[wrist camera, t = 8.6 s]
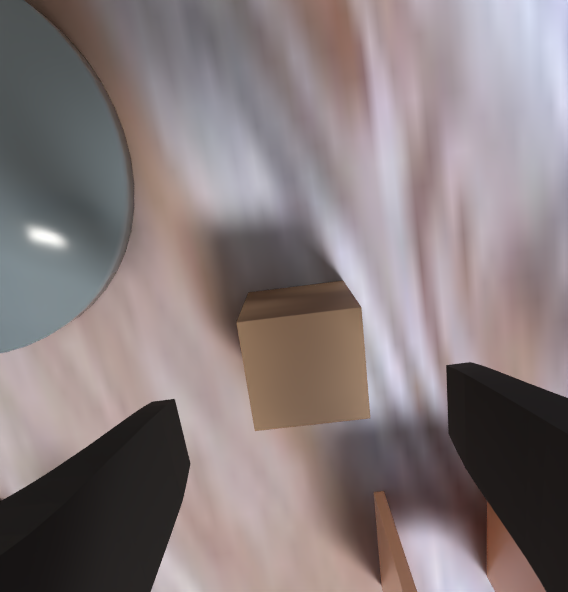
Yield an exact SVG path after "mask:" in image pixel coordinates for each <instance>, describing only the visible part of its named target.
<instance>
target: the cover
mask: <svg viewBox="0 0 568 592" xmlns="http://www.w3.org/2000/svg"><path fill="white" fill-rule="evenodd" d="M374 503H375V515H376V527H377V539H378V550H379V562H380V574H381V585H382V590H383V592H417V590H416V587H415V584H414V581H413V578H412V575H411V572H410V569H409V566H408V563H407V560H406V557H405V554H404V551H403V548H402V545H401V542H400V539H399V536H398V533H397V529H396V526H395V523H394V520H393V517H392V514H391V511H390V508H389V505H388V502H387V499H386V496H385V493H384V491H380V492H374ZM487 577H488V579H489V581H490V583H491V585H492V587H493V589H494V591H495V592H546V591H545V589H544V587H543V585H542V584H541V582H540V580H539V578H538V577H537V575H536V574H535V572H534V570H533V569H532V567H531V566H530V564H529V562H528V561H527V559H526V558H525V556H524V555H523V553H522V552H521V550H520V549H519V547H518V546H517V544H516V543H515V541H514V540H513V538H512V537H511V535H510V534H509V532H508V531H507V529H506V528H505V526H504V525H503V523H502V522H501V521H500V519H499V518H498V516H497V515H496V513H495V512H494V510H493V509H492V507H491V506H490V504H489V503H488V501H487Z"/></svg>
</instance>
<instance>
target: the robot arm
mask: <svg viewBox="0 0 568 592" xmlns="http://www.w3.org/2000/svg"><path fill="white" fill-rule="evenodd" d="M446 369H447V400H448V431H449V436H450V438H451V440H452V442H453V444H454V446H455V448H456V450H457V452H458V454H459V456H460V458H461V460H462V462H463V464H464V466H465V468H466V470H467V471H468V473H469V474H470V476H471V477H472V479H473V480H474V482H475V483H476V485H477V486H478V488H479V489H480V491H481V492H482V494H483V495H484V497H485V498H486V500H487V501H488V503H489V504H490V506H491V507H492V509H493V510H494V512H495V513H496V515H497V516H498V518H499V519H500V521H501V522H502V523H503V525H504V526H505V528H506V529H507V531H508V532H509V534H510V535H511V537H512V538H513V540H514V541H515V543H516V544H517V546H518V547H519V549H520V550H521V552H522V553H523V555H524V556H525V558H526V559H527V561H528V562H529V564H530V566H531V567H532V569H533V570H534V572H535V574H536V575H537V577H538V578H539V580H540V582H541V584H542V585H543V587H544V589H545V591H546V592H568V398H566V397H564V396H561V395H558V394H555V393H553V392H550V391H547V390H545V389H542V388H539V387H537V386H534V385H532V384H529V383H526V382H524V381H521V380H519V379H516V378H514V377H511V376H509V375H506V374H503V373H501V372H498V371H496V370H493V369H490V368H487V367H485V366H482V365H478V364H475V363H471V362H469V363H461V364H453V365H446ZM189 468H190V460H189V456H188V452H187V448H186V444H185V440H184V435H183V431H182V427H181V423H180V419H179V415H178V411H177V407H176V403H175V399H171V400H163V401H154V402H151V403H149V404H148V405H146V406H144V407H143V408H141V409H139V410H138V411H137V412H135V413H134V414H132V415H131V416H129V417H128V418H126V419H125V420H124V421H122V422H121V423H120V424H118V425H117V426H115V427H114V428H113V429H111V430H110V431H108V432H107V433H106V434H104V435H103V436H101V437H100V438H99V439H97V440H96V441H94V442H93V443H92V444H90V445H89V446H87V447H86V448H84V449H83V450H81V451H80V452H78V453H77V454H76V455H74V456H73V457H71V458H70V459H68V460H67V461H65V462H64V463H62V464H61V465H59V466H58V467H56V468H55V469H53V470H52V471H50V472H49V473H47V474H46V475H44V476H42V477H41V478H39V479H38V480H36V481H34V482H33V483H31V484H29V485H28V486H26V487H25V488H23V489H21V490H19V491H18V492H16V493H14V494H12V495H11V496H9V497H7V498H6V499H4V500H2V501H0V592H151V589H152V586H153V583H154V581H155V578H156V575H157V572H158V569H159V567H160V564H161V561H162V558H163V555H164V553H165V550H166V547H167V544H168V541H169V539H170V536H171V533H172V530H173V527H174V524H175V521H176V519H177V516H178V513H179V510H180V507H181V504H182V501H183V497H184V492H185V488H186V483H187V478H188V473H189Z"/></svg>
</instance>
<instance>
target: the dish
mask: <svg viewBox="0 0 568 592" xmlns="http://www.w3.org/2000/svg"><path fill="white" fill-rule="evenodd" d="M133 213H134V179H133V171H132V163H131V157H130V153H129V149H128V145H127V141H126V137H125V134H124V131H123V128H122V126H121V123H120V120H119V118H118V115H117V113H116V110H115V107H114V106H113V104H112V102H111V100H110V98H109V96H108V94H107V92H106V90H105V88H104V86H103V84H102V83H101V81H100V80H99V78H98V77H97V75H96V74H95V72H94V71H93V69H92V68H91V66H90V65H89V63H88V62H87V60H86V59H85V58H84V56H83V55H82V54H81V53H80V52H79V50H78V49H77V48H76V47H75V46H74V45H73V43H72V42H71V41H70V40H69V39H68V37H67V36H66V35H65V34H64V33H62V32H61V31H60V30H59V29H58V28H57V27H56V26H55V25H54V24H53V23H52V22H51V21H50V20H49V19H48V18H47V17H45V16H44V15H43V14H42V13H40V12H39V11H37V10H36V9H35V8H33V7H32V6H31V5H29V4H28V3H27V2H25V1H24V0H0V353H4V352H8V351H12V350H15V349H18V348H22V347H25V346H28V345H30V344H32V343H34V342H36V341H39V340H41V339H43V338H45V337H47V336H49V335H50V334H52V333H54V332H55V331H57V330H59V329H61V328H62V327H64V326H65V325H67V324H69V323H70V322H72V321H73V320H75V319H76V318H78V317H79V316H80V315H82V314H83V313H84V312H85V311H86V310H87V309H88V308H89V307H91V306H92V305H93V304H94V303H95V302H96V300H97V299H98V298H99V297H100V296H101V294H102V293H103V292H104V291H105V290H106V289H107V287H108V285H109V284H110V282H111V280H112V279H113V277H114V276H115V274H116V272H117V270H118V268H119V266H120V263H121V261H122V259H123V256H124V254H125V252H126V248H127V244H128V241H129V237H130V233H131V229H132V221H133Z"/></svg>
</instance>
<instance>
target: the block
mask: <svg viewBox="0 0 568 592" xmlns="http://www.w3.org/2000/svg"><path fill="white" fill-rule="evenodd" d="M236 323H237V329H238V335H239V341H240V347H241V353H242V358H243V364H244V370H245V376H246V382H247V388H248V393H249V399H250V405H251V411H252V417H253V423H254V428H255V431H259V430H269V429H278V428H287V427H296V426H305V425H314V424H323V423H332V422H341V421H350V420H359V419H368V418H370V409H369V396H368V384H367V372H366V359H365V347H364V335H363V322H362V310H361V306H360V305H359V303H358V302H357V300H356V299H355V297H354V296H353V294H352V293H351V291H350V290H349V288H348V287H347V285H346V284H345V283H344V281H336V282H328V283H320V284H312V285H304V286H296V287H288V288H280V289H272V290H264V291H256V292H248V295H247V297H246V300H245V302H244V305H243V307H242V310H241V312H240V315H239V317H238V320H237V322H236Z"/></svg>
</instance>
